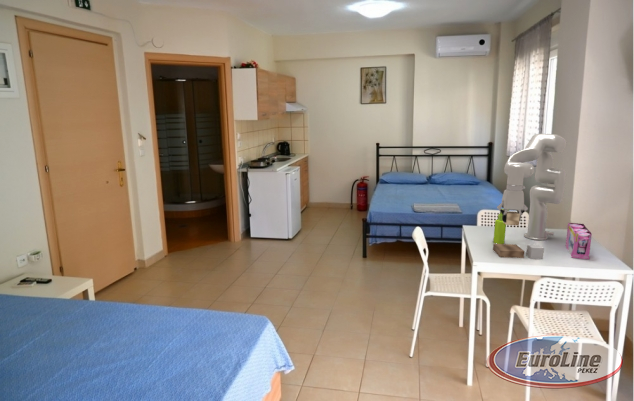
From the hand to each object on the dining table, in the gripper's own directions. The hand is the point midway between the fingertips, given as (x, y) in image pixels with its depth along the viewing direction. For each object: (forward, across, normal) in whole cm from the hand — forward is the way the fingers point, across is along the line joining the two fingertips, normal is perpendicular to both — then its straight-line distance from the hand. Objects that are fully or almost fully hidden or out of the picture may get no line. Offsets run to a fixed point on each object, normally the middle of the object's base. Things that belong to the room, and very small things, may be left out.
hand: (510, 221), depth 230 cm
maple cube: (+1, 0, 0) cm, 1 cm away
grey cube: (+18, -12, +4) cm, 22 cm away
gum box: (+18, -38, -7) cm, 43 cm away
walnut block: (+18, 0, 0) cm, 18 cm away
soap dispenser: (+18, -2, -20) cm, 27 cm away
